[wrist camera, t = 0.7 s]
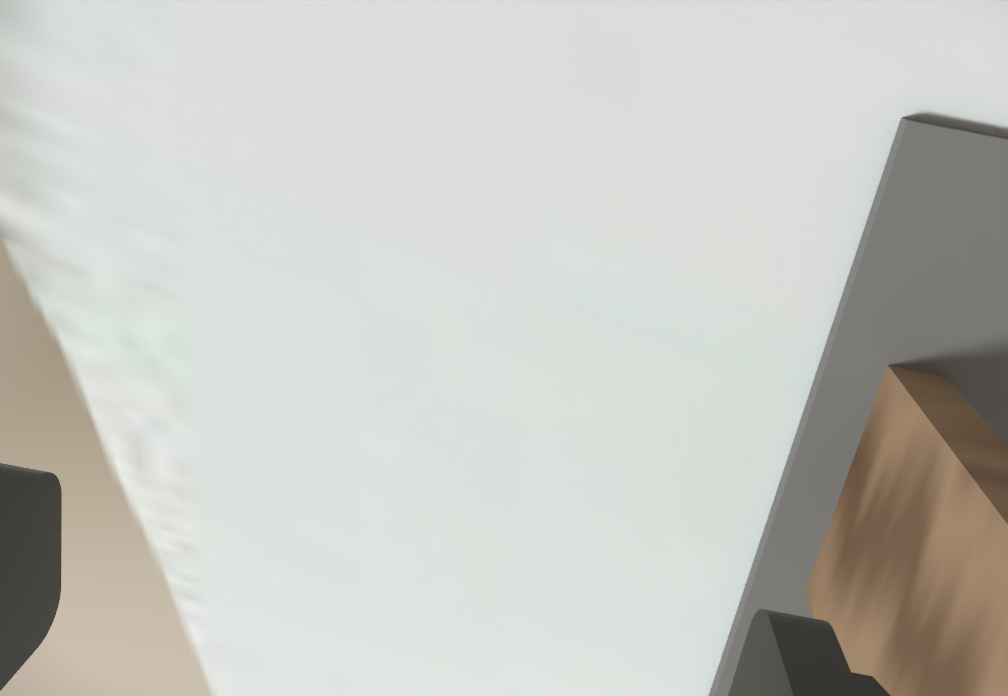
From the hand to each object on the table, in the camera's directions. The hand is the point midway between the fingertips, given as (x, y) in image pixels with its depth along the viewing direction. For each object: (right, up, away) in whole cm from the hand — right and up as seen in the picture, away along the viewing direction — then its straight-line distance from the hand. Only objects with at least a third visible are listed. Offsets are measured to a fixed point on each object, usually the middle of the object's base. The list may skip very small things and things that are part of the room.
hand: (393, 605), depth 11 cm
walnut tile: (+14, -2, +21) cm, 25 cm away
